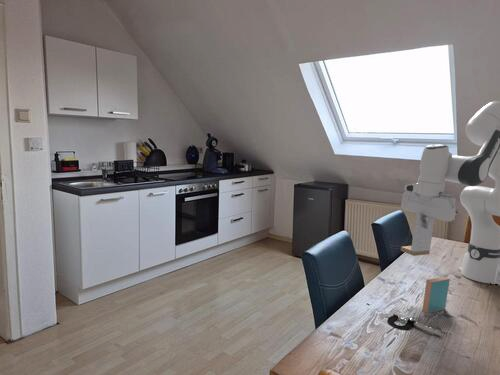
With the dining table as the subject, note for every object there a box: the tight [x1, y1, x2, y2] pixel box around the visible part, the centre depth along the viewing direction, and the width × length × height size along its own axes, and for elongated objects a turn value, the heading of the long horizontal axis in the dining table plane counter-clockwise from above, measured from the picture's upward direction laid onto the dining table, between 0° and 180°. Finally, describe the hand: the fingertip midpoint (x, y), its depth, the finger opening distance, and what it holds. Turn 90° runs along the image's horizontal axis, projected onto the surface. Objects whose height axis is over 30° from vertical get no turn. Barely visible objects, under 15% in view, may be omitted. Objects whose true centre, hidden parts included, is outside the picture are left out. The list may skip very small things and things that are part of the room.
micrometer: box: [386, 314, 443, 338], centre depth 113 cm, size 15×7×2 cm, turn 44°
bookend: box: [400, 213, 435, 257], centre depth 136 cm, size 8×6×16 cm
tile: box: [422, 276, 451, 314], centre depth 126 cm, size 9×2×11 cm, turn 116°
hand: (424, 227), depth 134 cm, fingers closed on bookend
